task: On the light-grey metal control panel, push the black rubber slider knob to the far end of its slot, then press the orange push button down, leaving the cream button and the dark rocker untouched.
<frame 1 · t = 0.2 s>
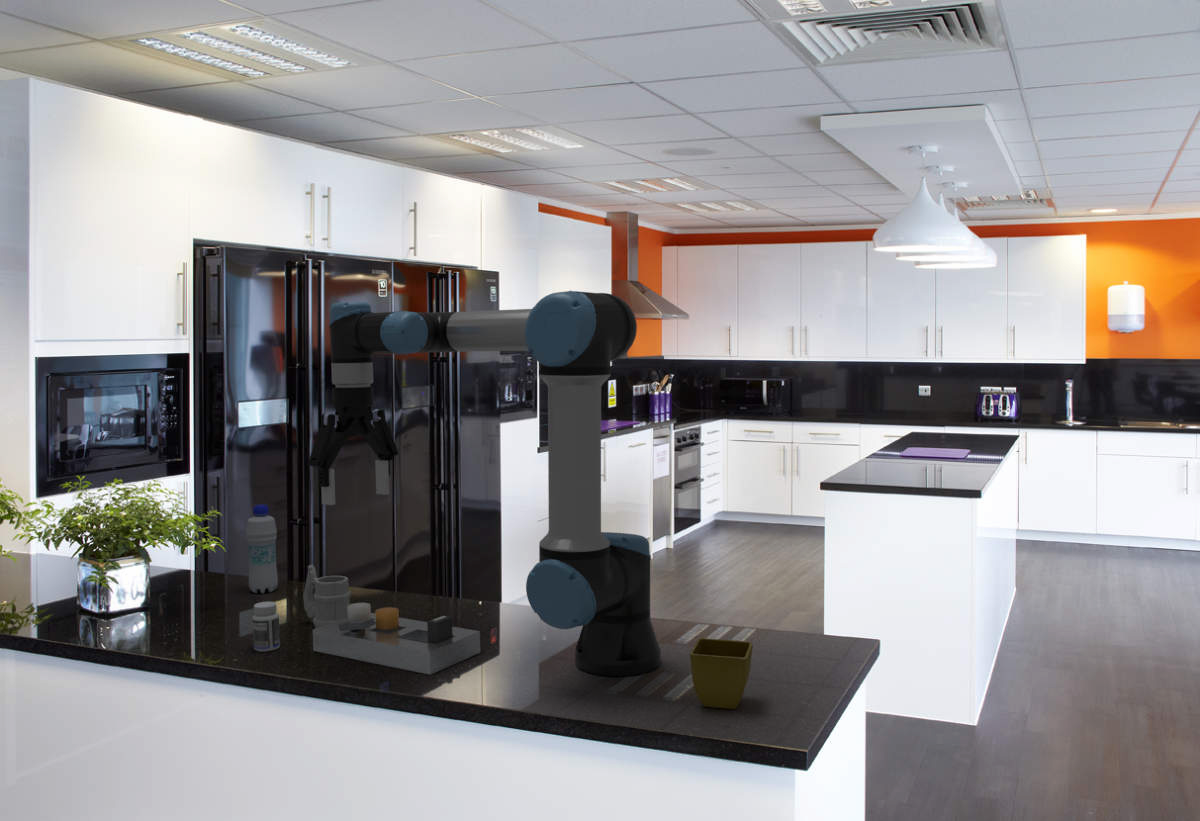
hand: (356, 499, 196), 28 cm above the counter, fingers open, 13 cm apart
slider knob: (440, 633, 186), point 5 cm above the counter, slide at 0.0 cm
flower pot: (722, 704, 164), on the counter
bottle: (263, 591, 239), on the counter
orange button: (387, 618, 193), point 6 cm above the counter, slide at 0.0 cm
panel: (396, 651, 192), on the counter
rocker: (356, 624, 190), point 6 cm above the counter, hinge at 12.0°
cream button: (359, 613, 196), point 6 cm above the counter, slide at 0.0 cm
pill bottle: (266, 649, 195), on the counter
mug: (326, 627, 210), on the counter
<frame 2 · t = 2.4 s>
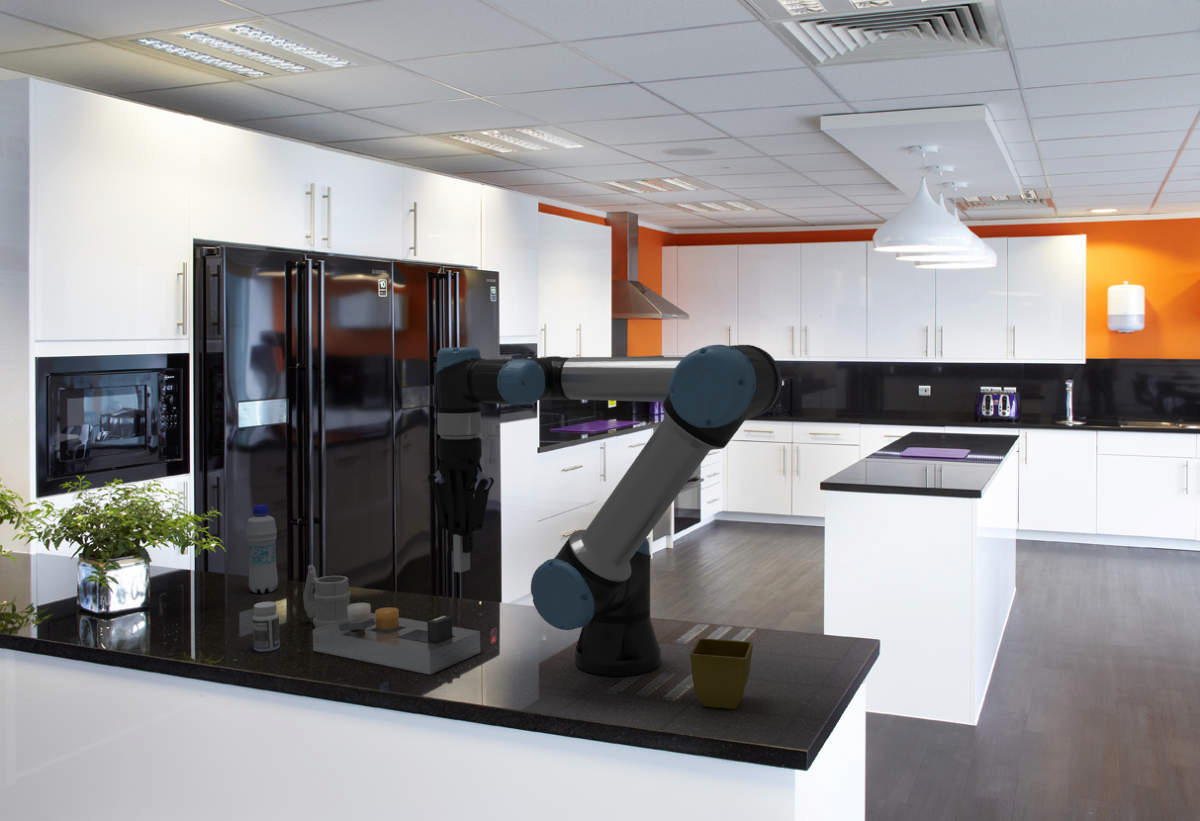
hand: (462, 570, 183), 17 cm above the counter, fingers closed
nothing on the counter moved.
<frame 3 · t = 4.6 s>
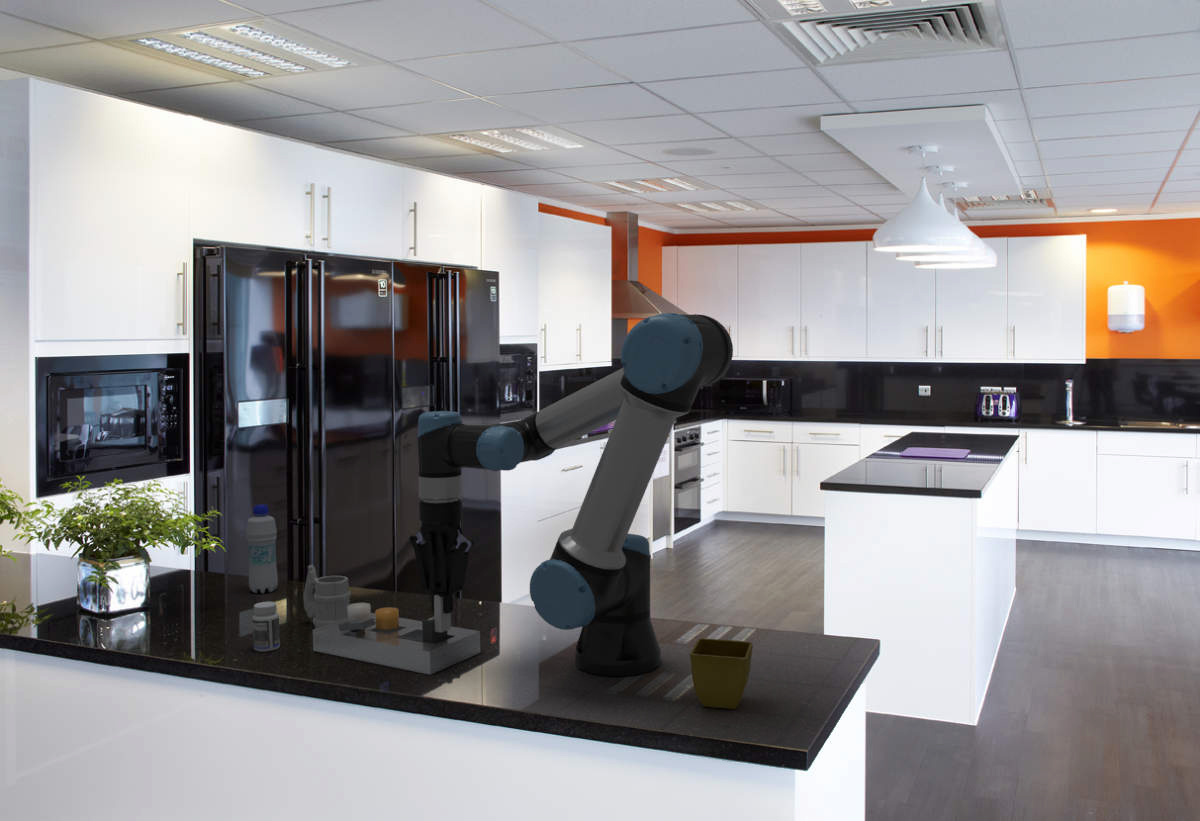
hand: (442, 630, 186), 6 cm above the counter, fingers closed
slider knob: (435, 632, 187), point 5 cm above the counter, slide at 1.2 cm, touching gripper
everything else where it was.
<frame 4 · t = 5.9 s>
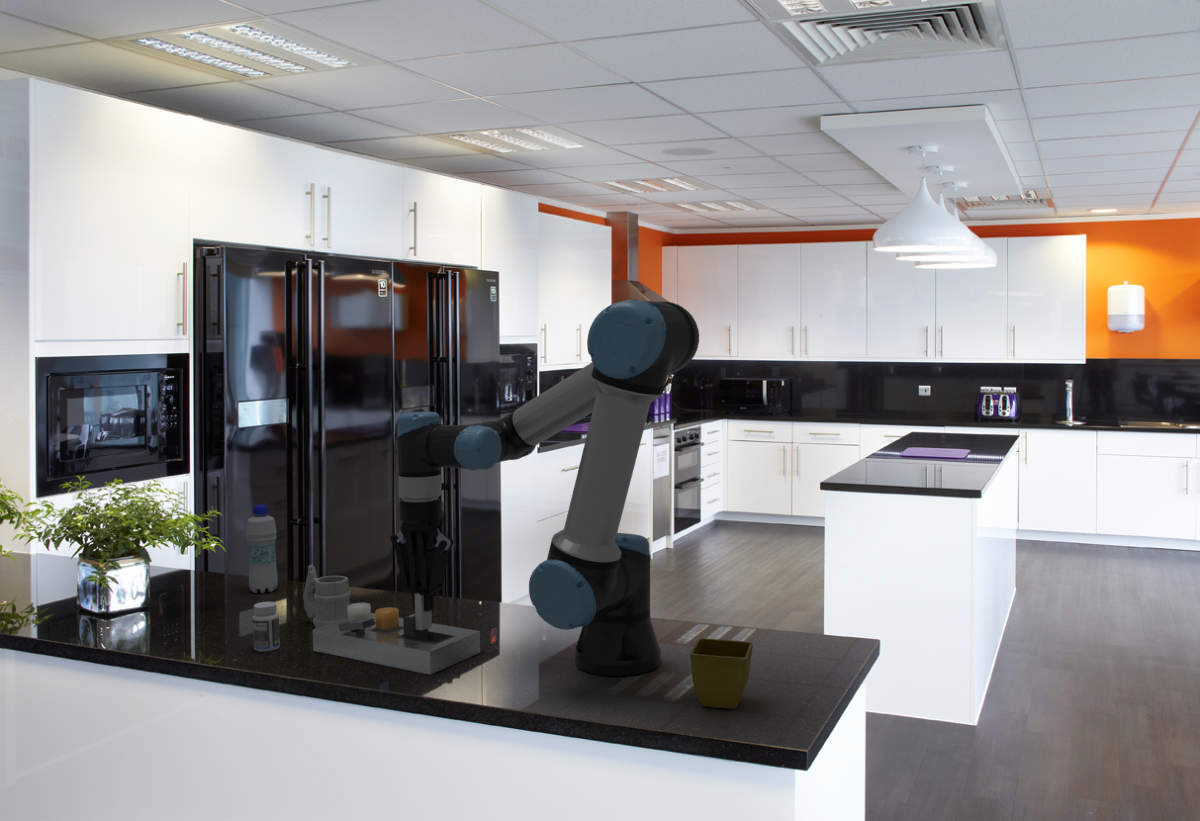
hand: (423, 627, 188), 5 cm above the counter, fingers closed
slider knob: (416, 628, 189), point 5 cm above the counter, slide at 5.6 cm, touching gripper
everything else where it was.
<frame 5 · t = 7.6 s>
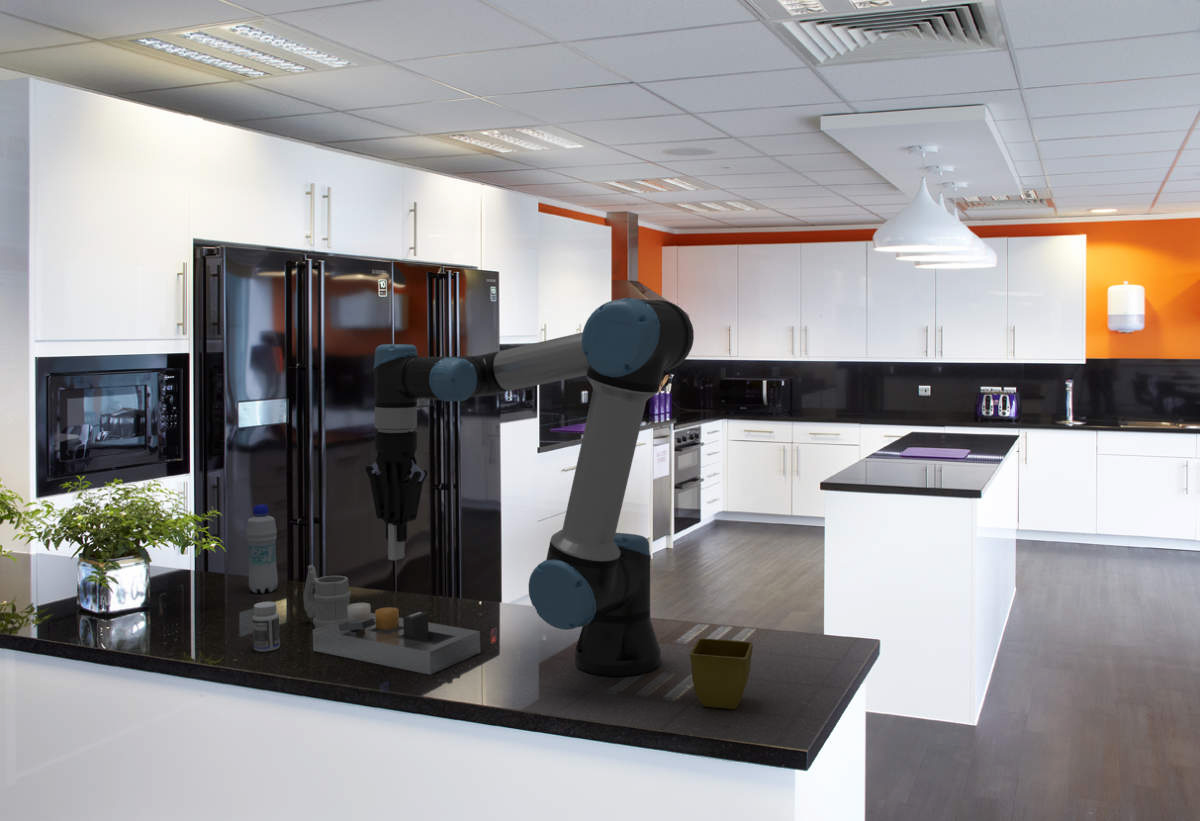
hand: (396, 558, 191), 18 cm above the counter, fingers closed
slider knob: (416, 628, 189), point 5 cm above the counter, slide at 5.6 cm
everything else where it was.
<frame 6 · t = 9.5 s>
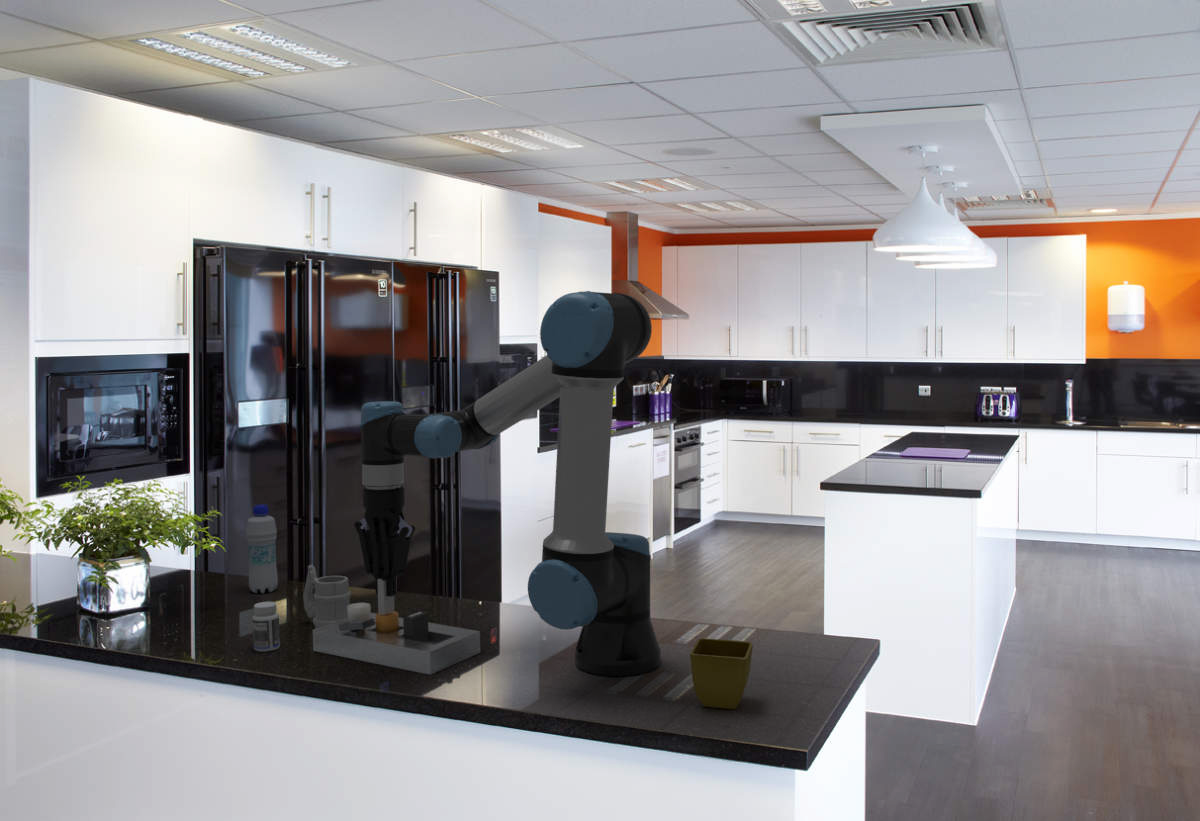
hand: (386, 612, 193), 7 cm above the counter, fingers closed
orange button: (387, 622, 193), point 5 cm above the counter, slide at 0.7 cm, touching gripper
everything else where it was.
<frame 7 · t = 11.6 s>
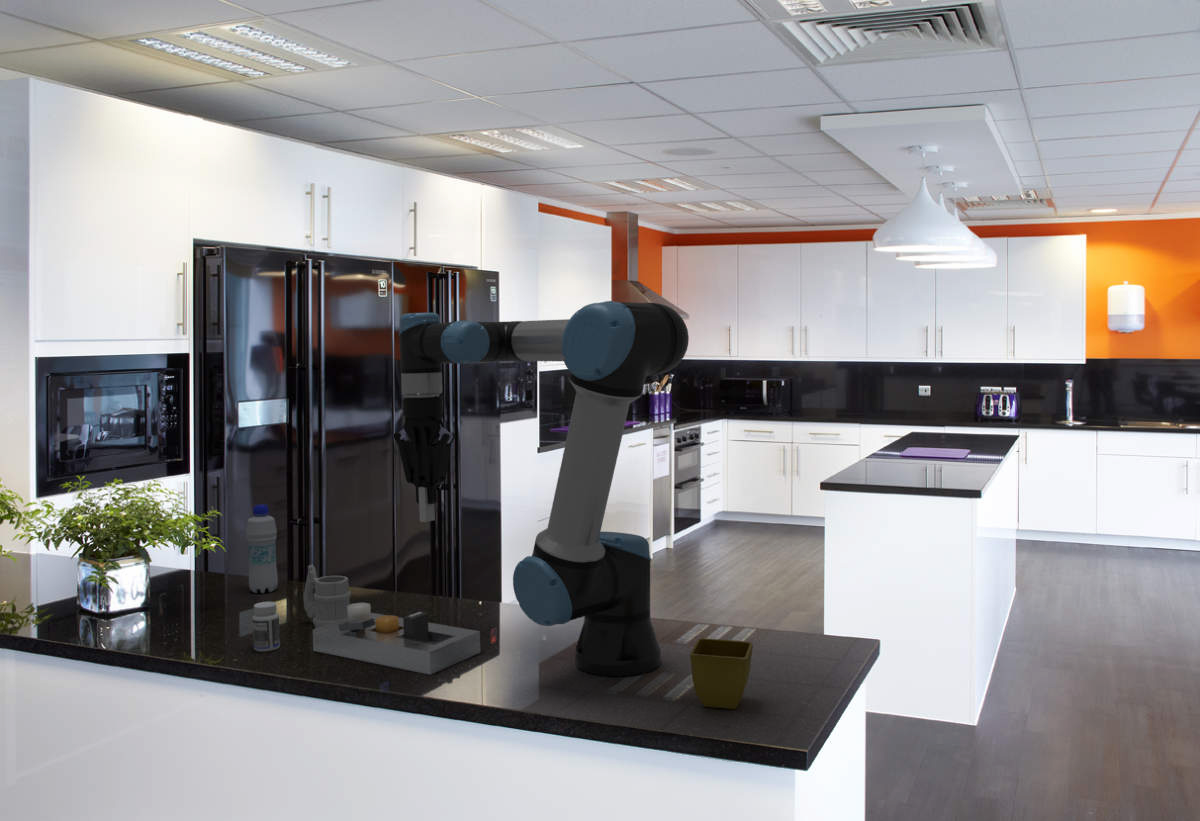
hand: (427, 520, 197), 23 cm above the counter, fingers closed
orange button: (387, 626, 193), point 4 cm above the counter, slide at 1.5 cm
everything else where it was.
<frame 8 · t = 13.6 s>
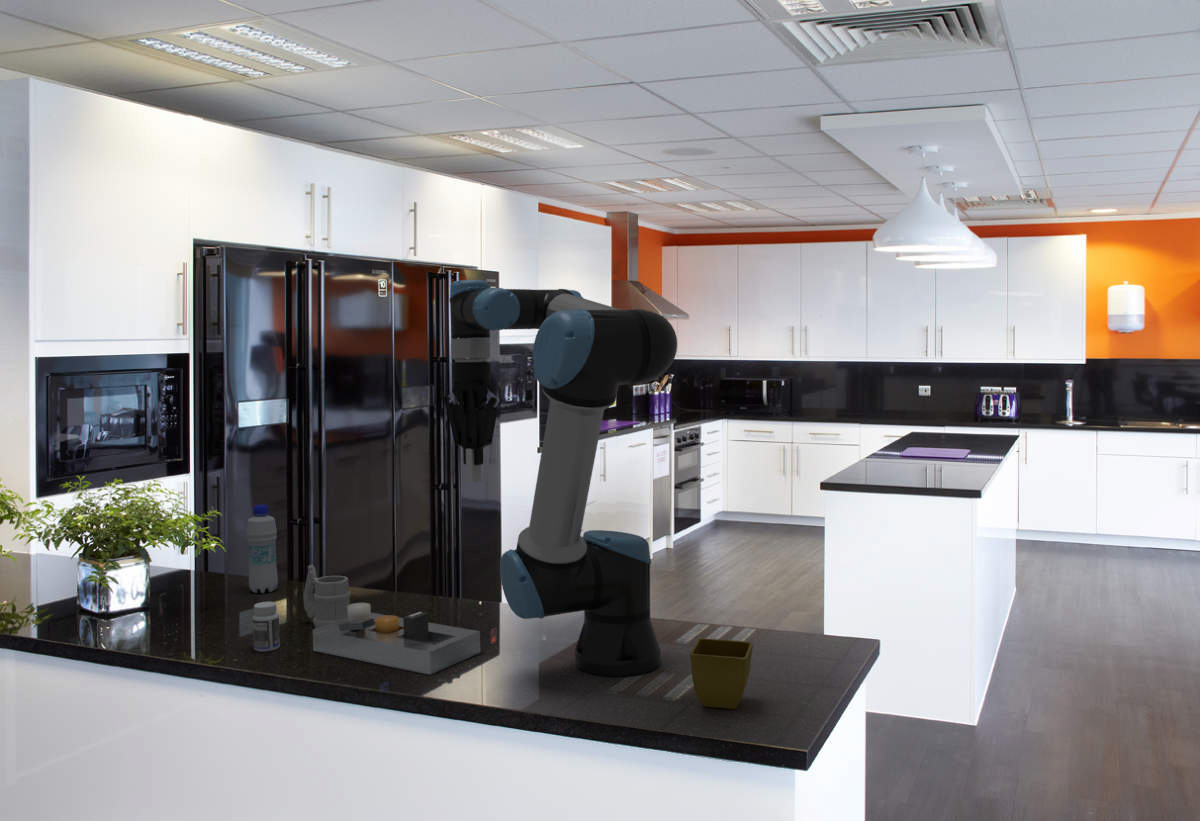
hand: (473, 481, 204), 29 cm above the counter, fingers closed
nothing on the counter moved.
at the end: slider knob slide at 5.6 cm; orange button slide at 1.5 cm; cream button slide at 0.0 cm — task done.
